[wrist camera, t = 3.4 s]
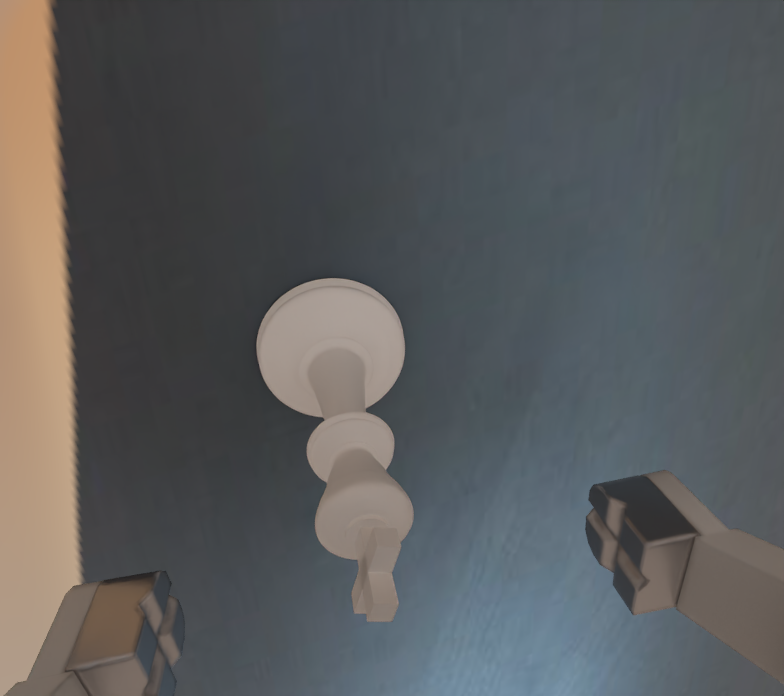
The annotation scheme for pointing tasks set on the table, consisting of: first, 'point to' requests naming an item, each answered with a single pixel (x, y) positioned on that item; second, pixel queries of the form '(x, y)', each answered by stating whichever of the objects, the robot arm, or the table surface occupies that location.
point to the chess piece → (345, 421)
